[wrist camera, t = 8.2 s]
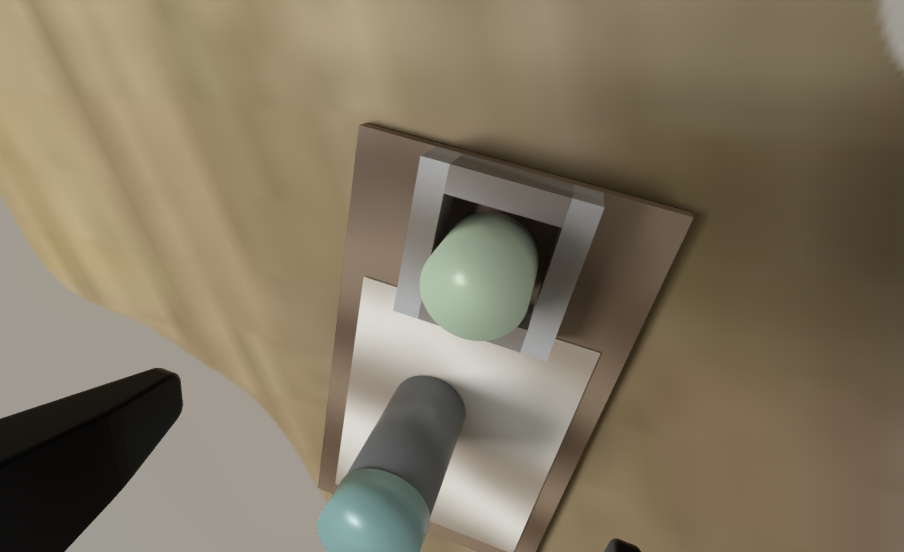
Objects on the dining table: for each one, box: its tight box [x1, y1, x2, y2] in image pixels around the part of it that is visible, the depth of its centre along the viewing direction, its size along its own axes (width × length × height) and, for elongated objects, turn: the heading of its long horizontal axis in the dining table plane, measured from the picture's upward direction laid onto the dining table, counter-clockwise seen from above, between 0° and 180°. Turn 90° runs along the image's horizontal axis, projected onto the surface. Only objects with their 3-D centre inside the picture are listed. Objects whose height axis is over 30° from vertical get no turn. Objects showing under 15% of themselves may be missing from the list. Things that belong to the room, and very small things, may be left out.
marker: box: [317, 376, 466, 552], centre depth 19 cm, size 4×4×7 cm
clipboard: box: [318, 123, 694, 552], centre depth 21 cm, size 20×12×2 cm, turn 169°
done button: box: [420, 212, 539, 341], centre depth 16 cm, size 3×3×3 cm
